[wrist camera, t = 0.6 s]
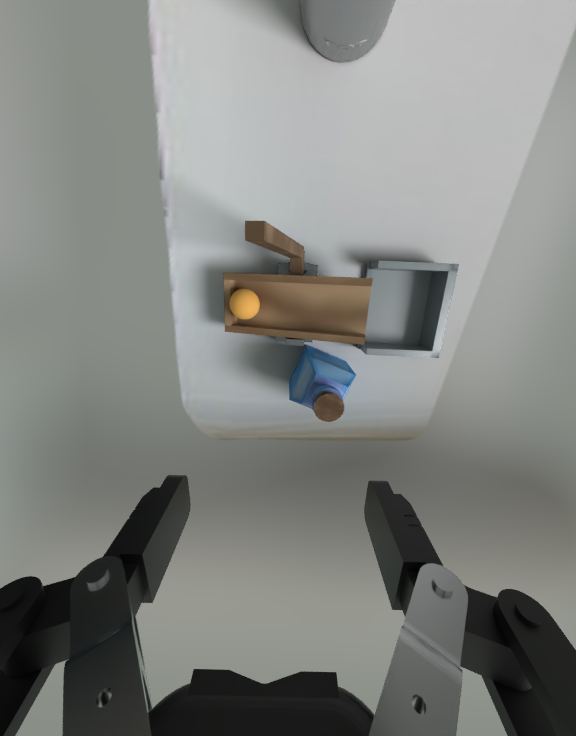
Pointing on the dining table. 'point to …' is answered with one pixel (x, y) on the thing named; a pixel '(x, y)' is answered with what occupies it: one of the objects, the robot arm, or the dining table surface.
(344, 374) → the perfume bottle
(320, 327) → the lever
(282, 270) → the fulcrum
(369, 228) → the dining table surface
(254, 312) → the ball
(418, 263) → the tray
